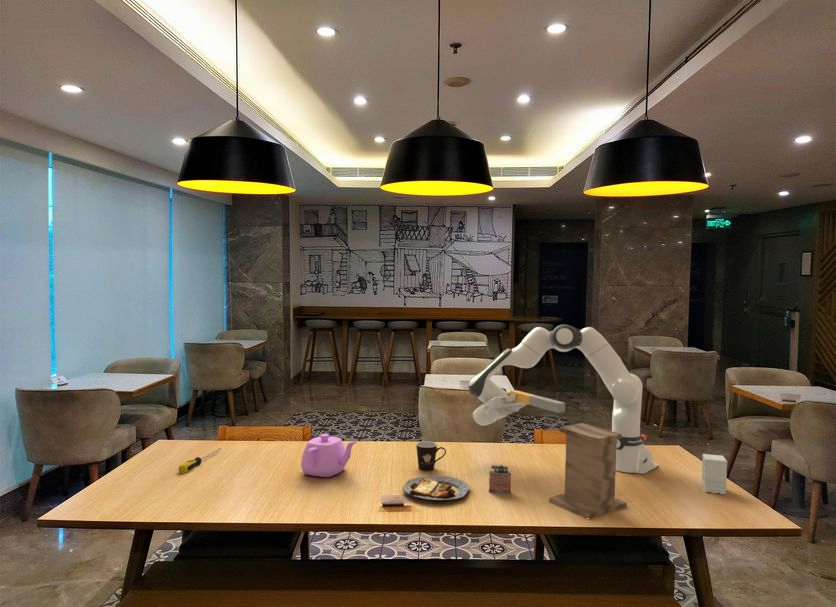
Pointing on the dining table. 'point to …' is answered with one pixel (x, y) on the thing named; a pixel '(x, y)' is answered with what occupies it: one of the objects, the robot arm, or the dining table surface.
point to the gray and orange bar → (539, 401)
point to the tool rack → (589, 471)
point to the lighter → (500, 480)
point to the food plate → (428, 488)
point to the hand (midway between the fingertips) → (520, 395)
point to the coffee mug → (427, 455)
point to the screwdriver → (192, 463)
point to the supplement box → (714, 473)
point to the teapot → (325, 456)
